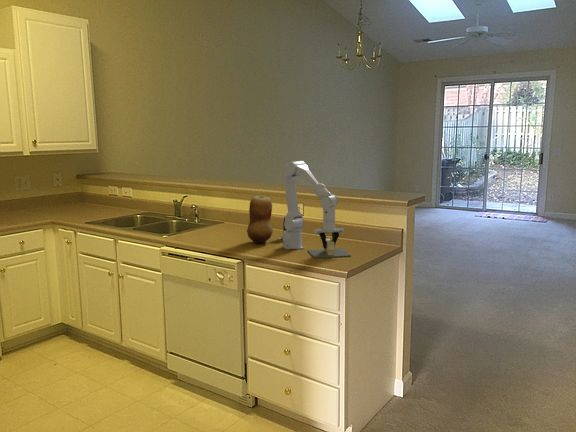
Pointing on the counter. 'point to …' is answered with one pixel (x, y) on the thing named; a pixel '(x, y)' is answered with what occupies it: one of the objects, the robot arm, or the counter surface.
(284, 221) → the condiment
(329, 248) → the tile
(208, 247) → the counter surface
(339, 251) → the mat
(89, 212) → the counter surface
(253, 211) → the butternut squash
